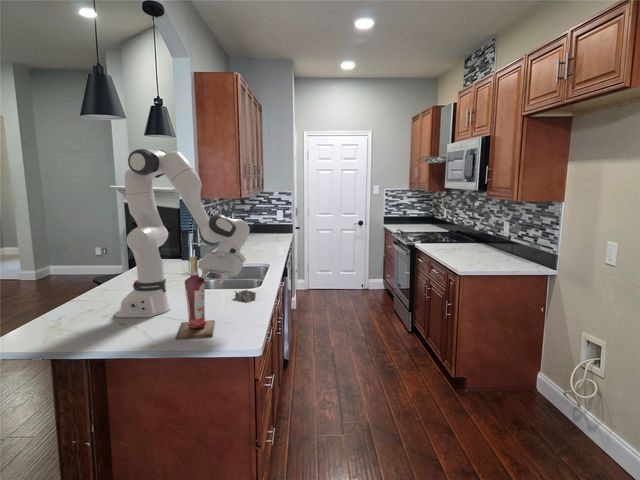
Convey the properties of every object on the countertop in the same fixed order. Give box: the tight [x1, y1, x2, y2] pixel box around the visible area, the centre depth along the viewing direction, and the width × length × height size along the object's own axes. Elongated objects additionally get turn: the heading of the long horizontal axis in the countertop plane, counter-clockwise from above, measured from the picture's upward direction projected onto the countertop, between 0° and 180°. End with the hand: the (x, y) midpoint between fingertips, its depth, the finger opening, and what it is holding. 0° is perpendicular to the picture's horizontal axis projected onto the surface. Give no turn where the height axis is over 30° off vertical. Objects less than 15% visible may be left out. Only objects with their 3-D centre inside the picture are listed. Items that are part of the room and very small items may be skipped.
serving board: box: [175, 319, 216, 340], centre depth 153 cm, size 13×15×1 cm
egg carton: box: [233, 289, 257, 302], centre depth 196 cm, size 11×8×4 cm
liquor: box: [184, 255, 206, 329], centre depth 152 cm, size 7×7×28 cm
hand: (210, 281), depth 158 cm, fingers open, 8 cm apart
